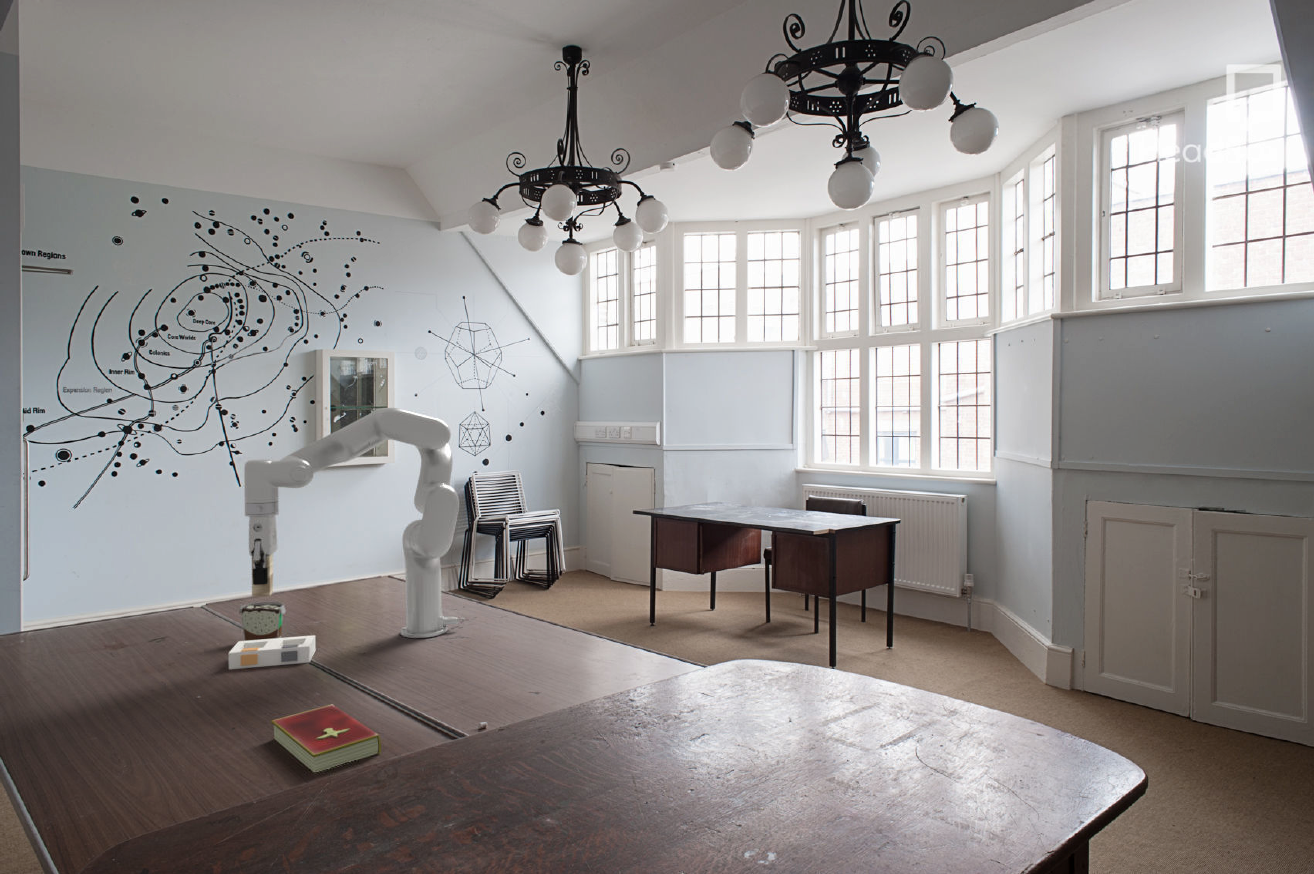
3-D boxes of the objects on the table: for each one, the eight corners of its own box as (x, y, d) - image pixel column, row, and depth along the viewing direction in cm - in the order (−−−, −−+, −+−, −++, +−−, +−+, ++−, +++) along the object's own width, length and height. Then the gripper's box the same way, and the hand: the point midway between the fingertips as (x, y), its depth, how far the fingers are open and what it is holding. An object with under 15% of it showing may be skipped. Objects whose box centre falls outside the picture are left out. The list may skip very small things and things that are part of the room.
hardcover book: (334, 722, 156) (334, 702, 156) (381, 755, 141) (380, 732, 141) (271, 740, 148) (270, 719, 148) (313, 777, 133) (313, 753, 133)
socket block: (315, 650, 203) (315, 634, 203) (309, 662, 193) (308, 645, 193) (239, 656, 198) (238, 640, 198) (228, 669, 188) (228, 652, 188)
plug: (272, 592, 197) (272, 552, 196) (269, 595, 193) (269, 555, 193) (255, 593, 196) (255, 553, 195) (251, 596, 192) (251, 556, 191)
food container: (295, 637, 215) (294, 601, 215) (282, 643, 209) (281, 606, 208) (253, 636, 216) (252, 600, 216) (239, 642, 210) (238, 606, 210)
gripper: (271, 512, 187) (272, 588, 187) (284, 505, 203) (284, 575, 203) (237, 513, 185) (237, 590, 185) (252, 505, 201) (253, 576, 201)
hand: (262, 581), depth 194 cm, fingers closed on plug, 4 cm apart
